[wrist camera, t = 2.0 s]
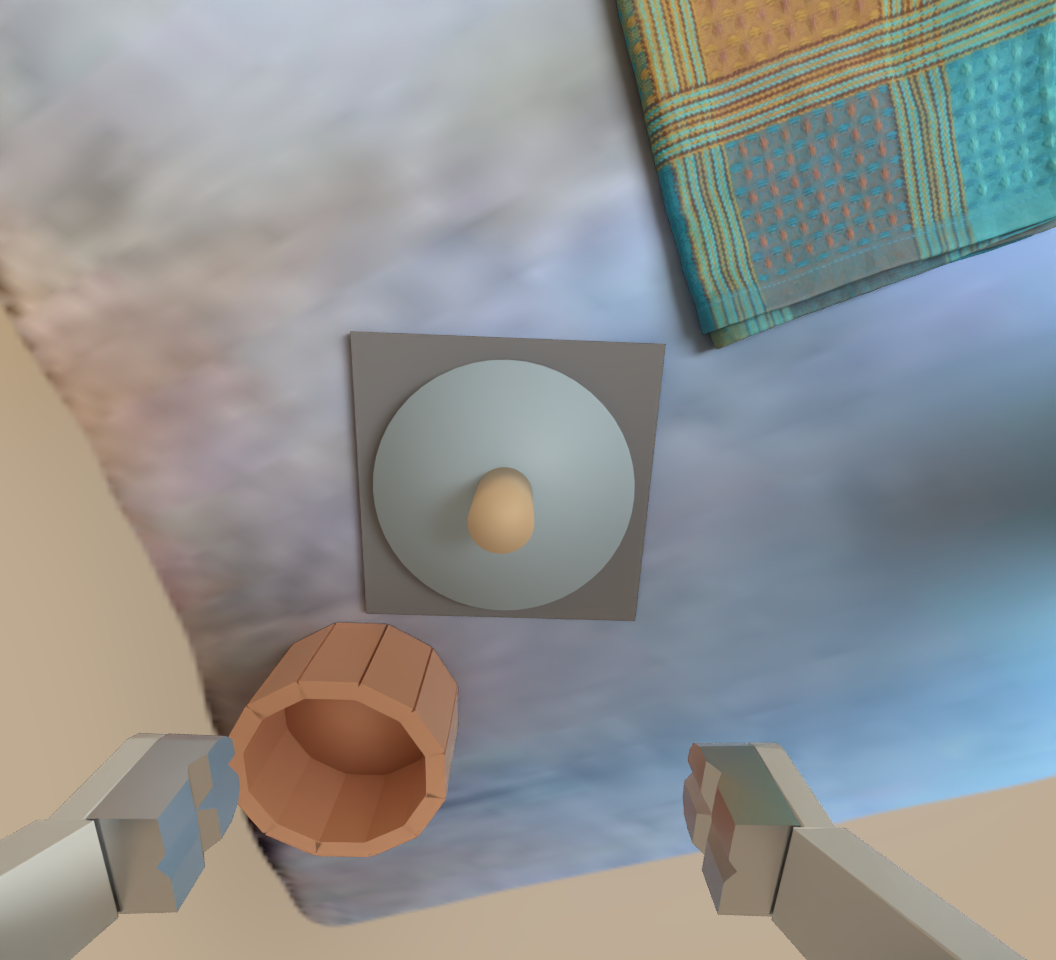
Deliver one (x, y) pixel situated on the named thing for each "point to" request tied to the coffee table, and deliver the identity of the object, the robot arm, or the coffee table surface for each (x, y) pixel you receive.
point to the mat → (415, 359)
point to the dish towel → (841, 142)
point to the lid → (503, 485)
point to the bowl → (348, 742)
